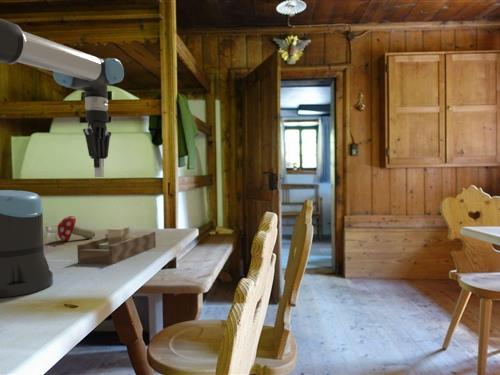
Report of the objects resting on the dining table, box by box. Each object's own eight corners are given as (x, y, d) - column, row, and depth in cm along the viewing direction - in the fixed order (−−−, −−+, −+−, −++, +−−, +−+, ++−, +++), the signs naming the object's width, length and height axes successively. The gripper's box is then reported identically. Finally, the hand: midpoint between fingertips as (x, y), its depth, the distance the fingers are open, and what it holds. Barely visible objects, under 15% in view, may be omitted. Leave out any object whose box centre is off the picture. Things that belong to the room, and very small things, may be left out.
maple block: (121, 244, 122) (120, 229, 122) (108, 244, 123) (107, 229, 123) (129, 241, 127) (129, 227, 127) (116, 241, 128) (116, 226, 128)
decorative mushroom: (100, 217, 163) (64, 207, 156) (98, 234, 154) (60, 224, 147) (91, 236, 167) (55, 227, 160) (89, 253, 158) (51, 244, 151)
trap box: (112, 264, 111) (111, 246, 111) (78, 262, 114) (77, 245, 114) (155, 246, 138) (155, 232, 137) (126, 246, 140) (126, 231, 140)
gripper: (94, 107, 125) (97, 177, 126) (116, 113, 137) (119, 176, 138) (75, 108, 127) (77, 177, 127) (99, 114, 139) (101, 177, 140)
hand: (99, 176), depth 133 cm, fingers closed
